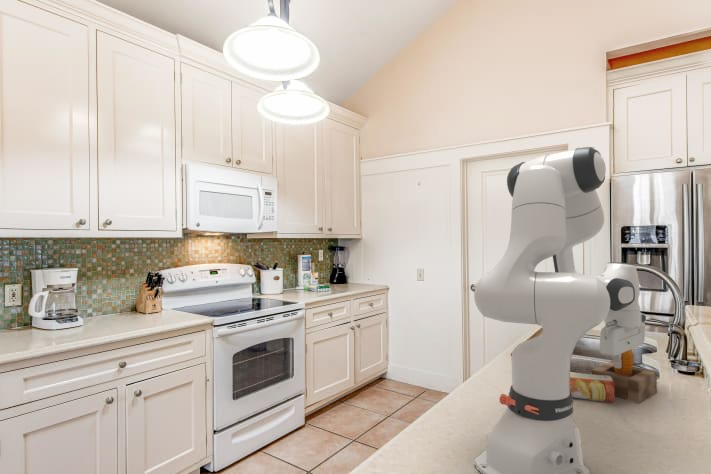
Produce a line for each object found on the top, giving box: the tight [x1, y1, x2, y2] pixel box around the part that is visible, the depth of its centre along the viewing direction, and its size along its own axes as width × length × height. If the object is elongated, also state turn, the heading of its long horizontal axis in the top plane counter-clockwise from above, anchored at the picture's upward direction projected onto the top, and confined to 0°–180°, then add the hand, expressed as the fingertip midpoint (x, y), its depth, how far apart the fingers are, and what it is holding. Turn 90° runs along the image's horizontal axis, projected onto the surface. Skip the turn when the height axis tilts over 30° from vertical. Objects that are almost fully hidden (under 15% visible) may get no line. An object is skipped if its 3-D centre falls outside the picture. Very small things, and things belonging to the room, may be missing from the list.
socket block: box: [591, 361, 658, 404], centre depth 117 cm, size 12×12×6 cm
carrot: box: [612, 341, 634, 376], centre depth 117 cm, size 5×5×15 cm
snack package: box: [570, 372, 616, 404], centre depth 115 cm, size 21×7×7 cm, turn 63°
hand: (623, 365), depth 117 cm, fingers closed on carrot, 4 cm apart
